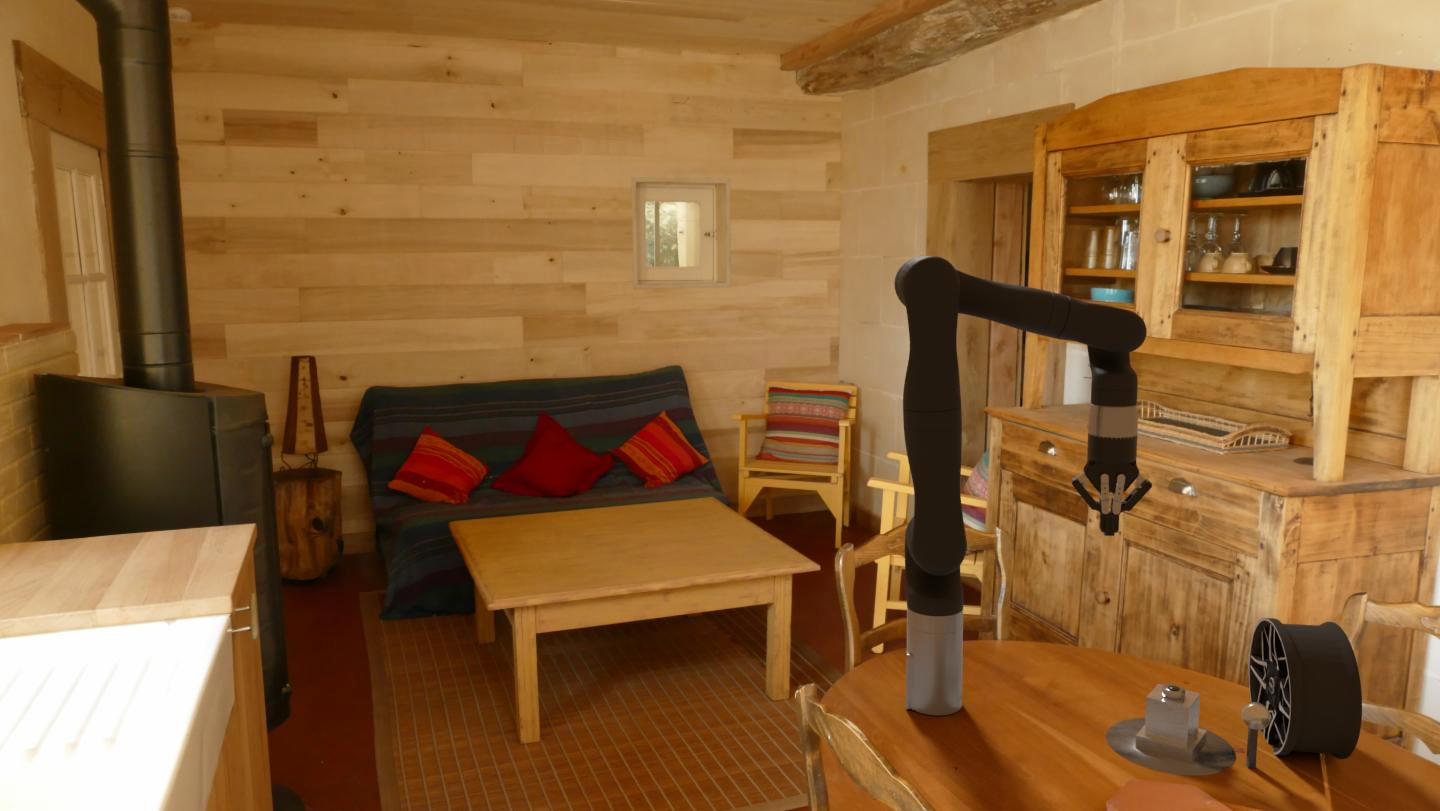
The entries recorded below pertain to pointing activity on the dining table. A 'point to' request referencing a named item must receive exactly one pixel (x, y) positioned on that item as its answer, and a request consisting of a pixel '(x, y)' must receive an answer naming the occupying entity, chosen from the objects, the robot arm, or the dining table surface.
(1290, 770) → the dining table surface
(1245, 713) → the dial indicator post
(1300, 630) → the wheel rim
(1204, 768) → the turntable
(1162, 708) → the cover
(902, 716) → the dining table surface
